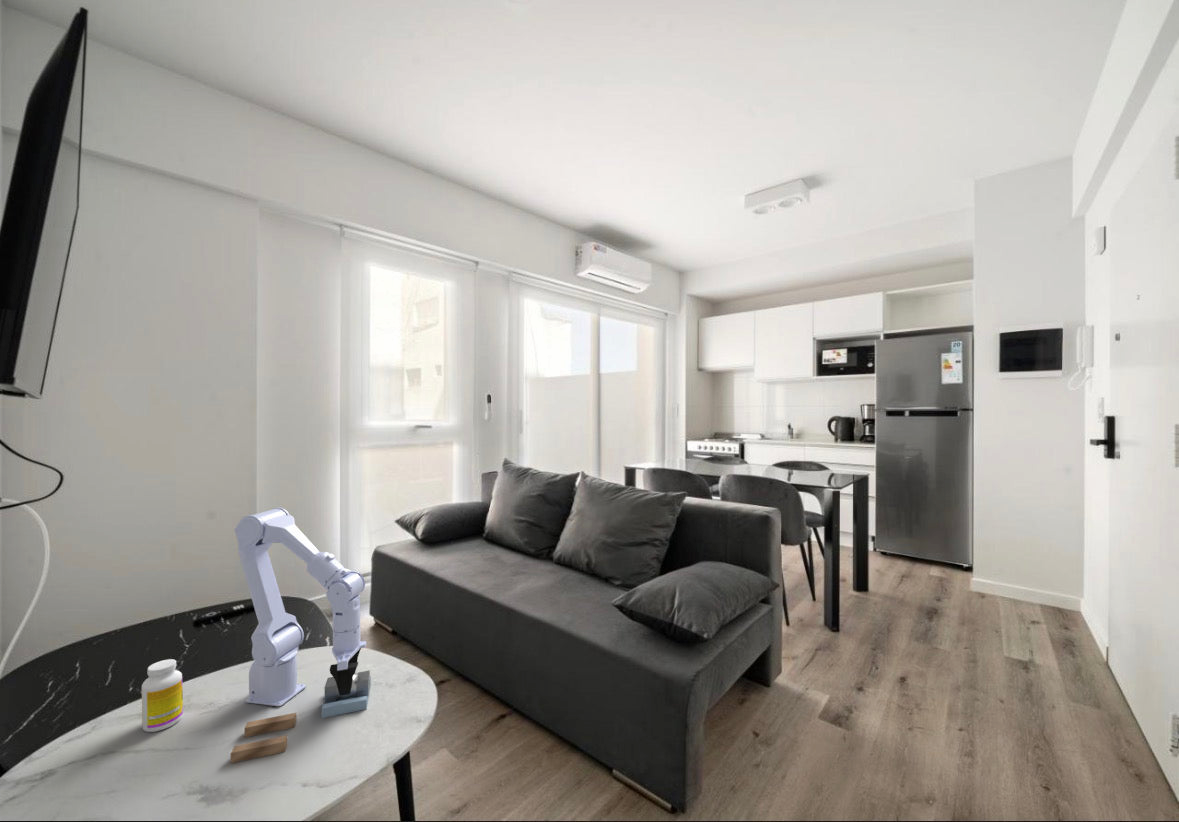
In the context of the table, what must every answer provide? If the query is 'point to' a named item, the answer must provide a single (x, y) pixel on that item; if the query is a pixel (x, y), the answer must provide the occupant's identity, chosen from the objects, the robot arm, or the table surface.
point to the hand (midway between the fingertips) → (347, 684)
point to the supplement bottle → (162, 696)
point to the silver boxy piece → (358, 688)
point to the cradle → (345, 705)
